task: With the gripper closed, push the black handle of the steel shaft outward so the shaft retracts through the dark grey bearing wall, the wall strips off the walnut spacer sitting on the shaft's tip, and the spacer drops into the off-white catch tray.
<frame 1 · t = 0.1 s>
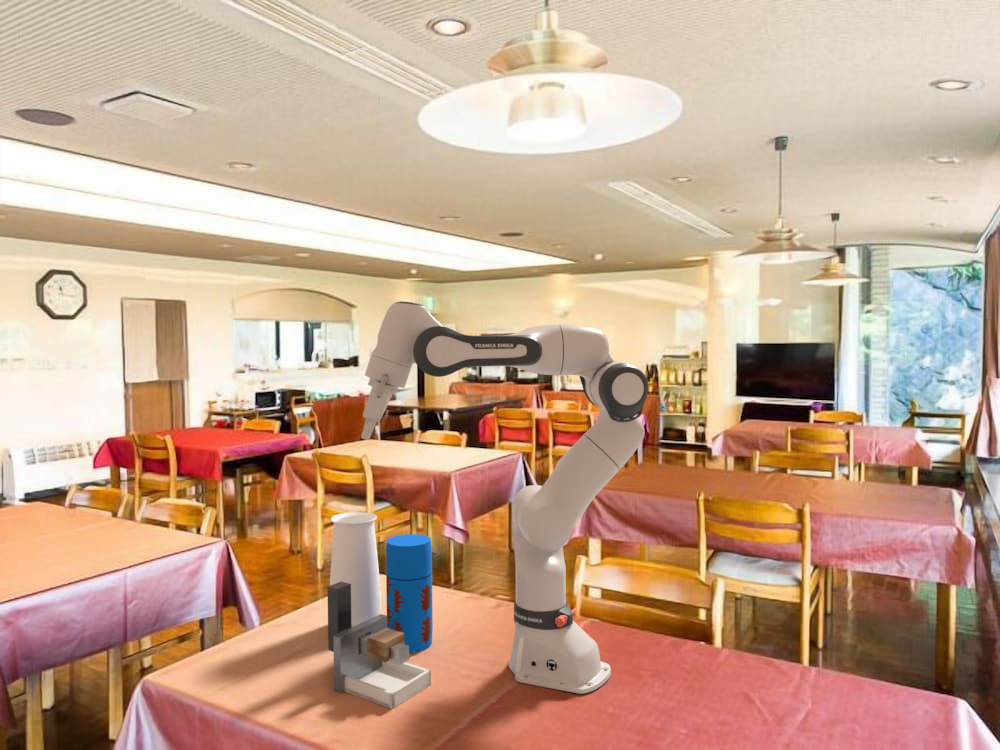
hand: (366, 435, 150), 52 cm above the table, tool tilted 20°, fingers open, 8 cm apart
vase: (355, 627, 178), on the table
spacer: (386, 654, 146), point 7 cm above the table, touching shaft
thermos: (409, 644, 168), on the table
catch tray: (388, 687, 146), on the table
shaft: (368, 625, 149), point 12 cm above the table, slide at 0.0 cm, touching spacer
bearing wall: (362, 678, 150), on the table
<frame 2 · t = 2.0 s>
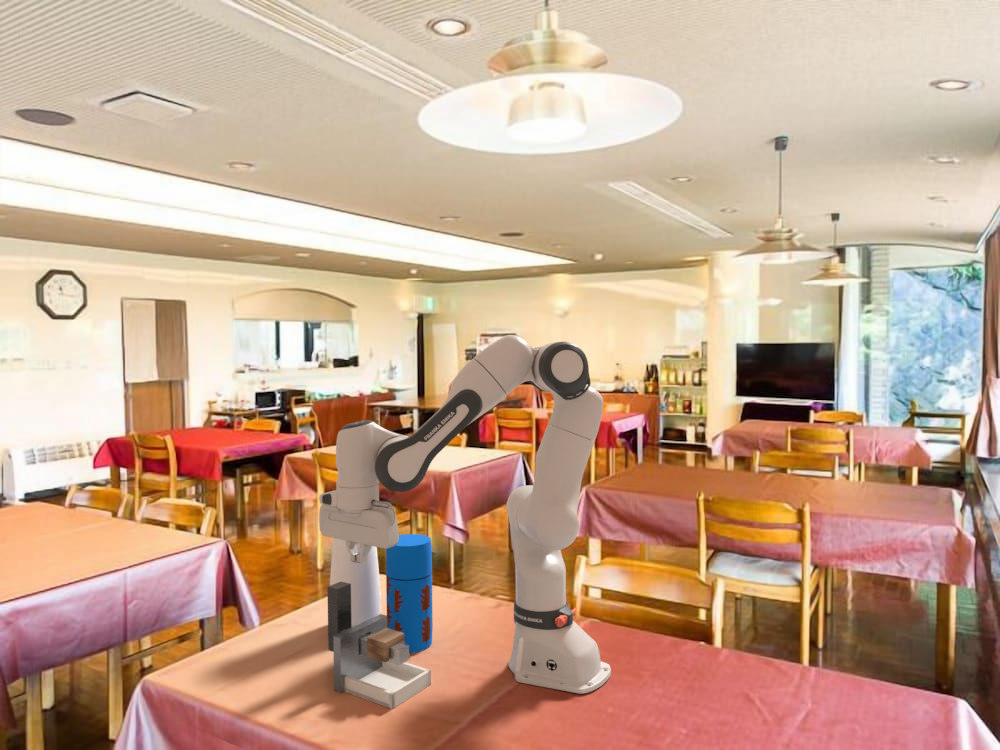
hand: (358, 562, 150), 25 cm above the table, tool pointing down, fingers closed
nothing on the table moved.
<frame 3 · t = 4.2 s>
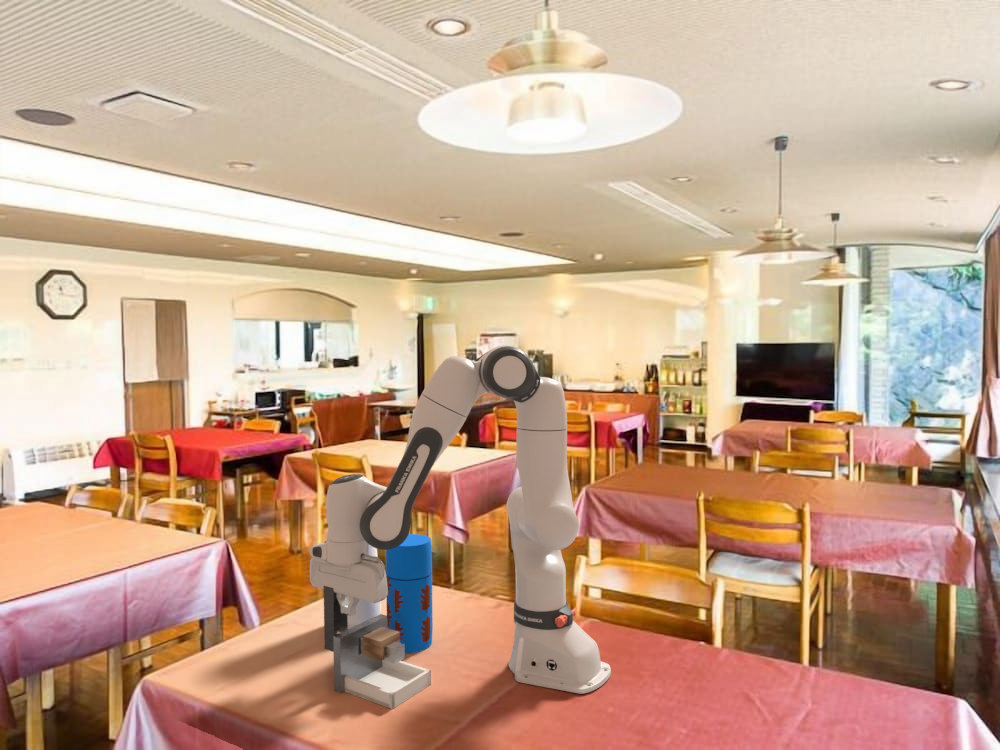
hand: (348, 614, 152), 13 cm above the table, tool pointing down, fingers closed
spacer: (381, 652, 147), point 7 cm above the table, touching shaft
shaft: (364, 624, 149), point 12 cm above the table, slide at 1.2 cm, touching gripper, spacer
everything else where it was.
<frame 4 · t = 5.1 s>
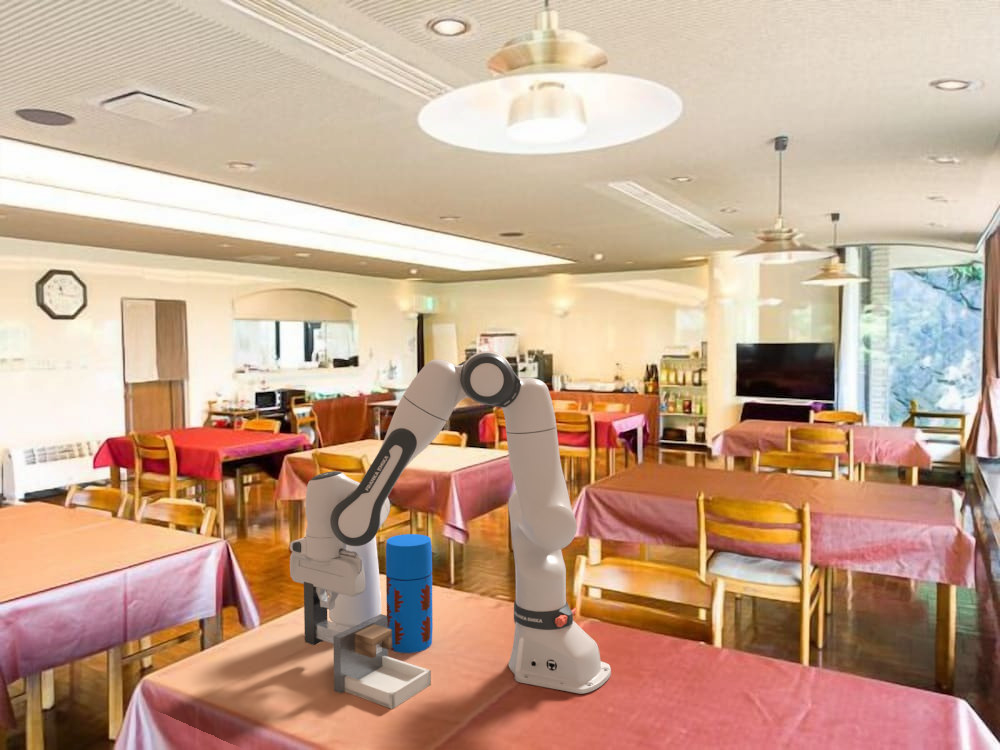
hand: (327, 607, 155), 13 cm above the table, tool pointing down, fingers closed
spacer: (373, 650, 148), point 7 cm above the table
shaft: (342, 617, 153), point 12 cm above the table, slide at 7.6 cm, touching gripper
everything else where it was.
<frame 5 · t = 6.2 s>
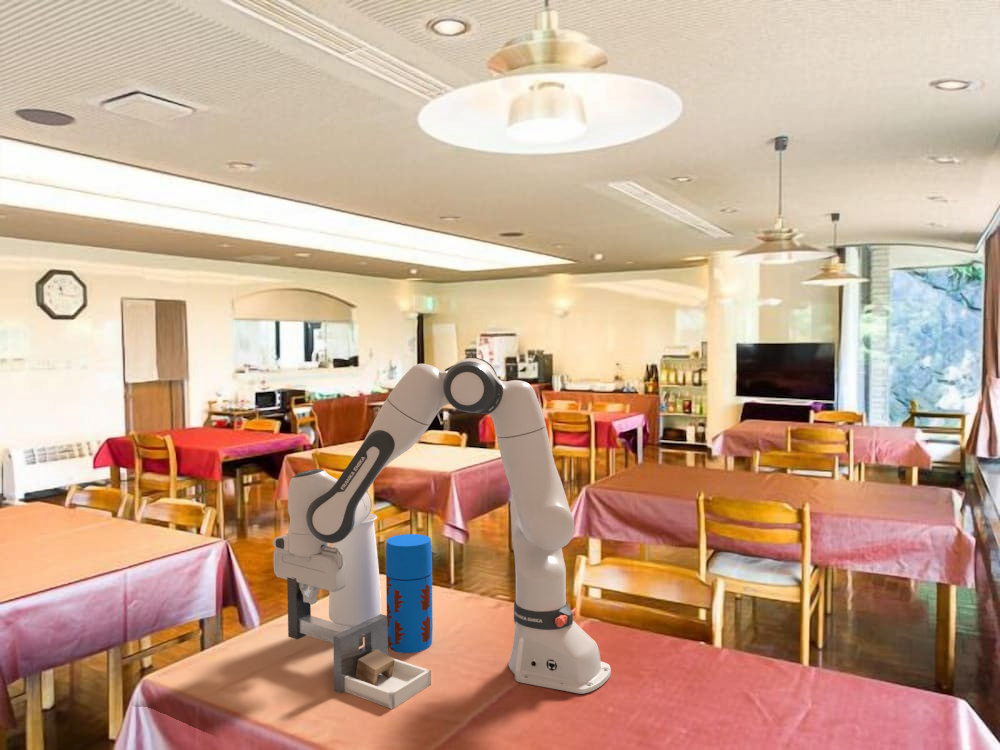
hand: (309, 602, 158), 13 cm above the table, tool pointing down, fingers closed
spacer: (373, 676, 148), point 1 cm above the table, tilted 12°, touching bearing wall, catch tray
shaft: (325, 612, 156), point 12 cm above the table, slide at 13.1 cm, touching gripper
everything else where it was.
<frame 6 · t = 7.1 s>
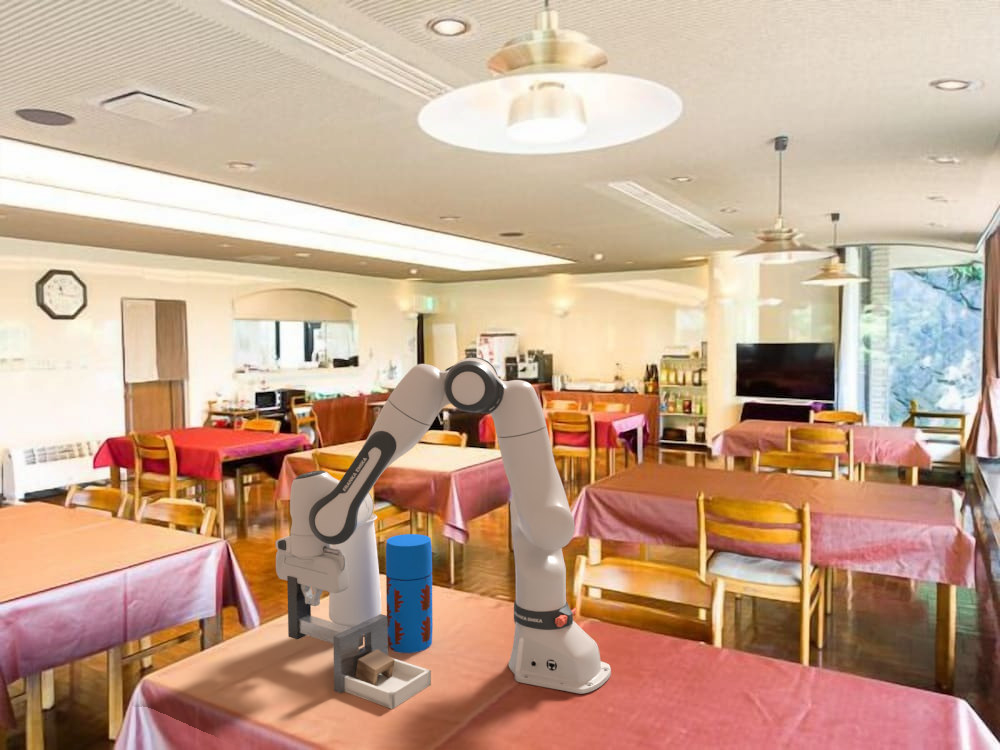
hand: (312, 604, 158), 13 cm above the table, tool pointing down, fingers closed
shaft: (325, 612, 156), point 12 cm above the table, slide at 13.0 cm
everything else where it was.
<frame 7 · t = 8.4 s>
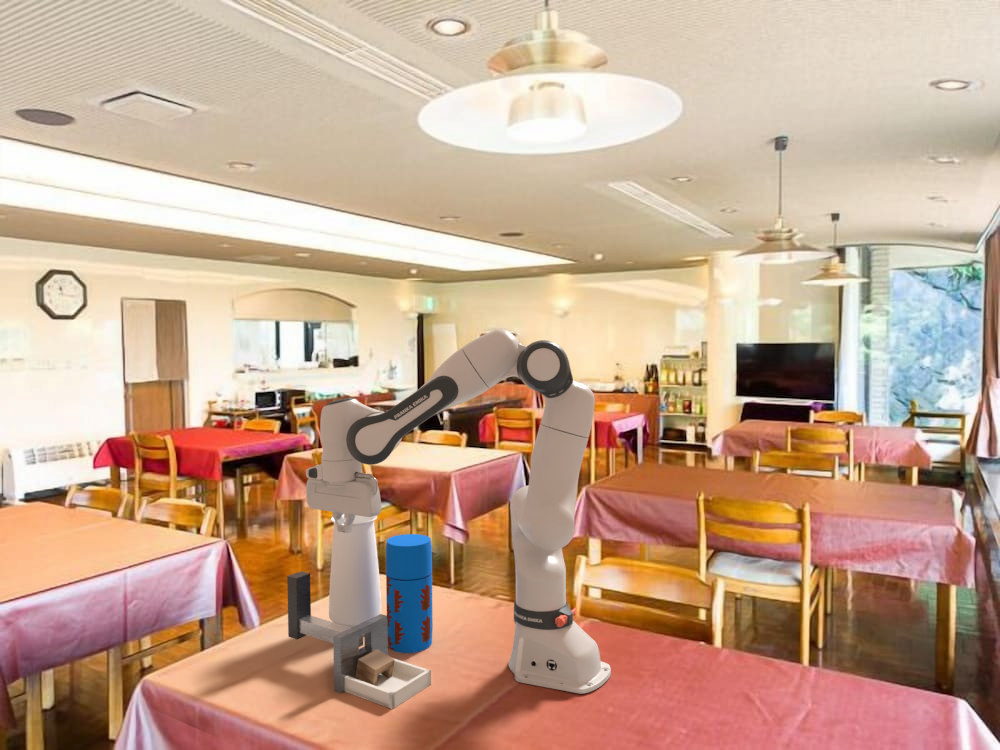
hand: (344, 531, 158), 29 cm above the table, tool pointing down, fingers closed
nothing on the table moved.
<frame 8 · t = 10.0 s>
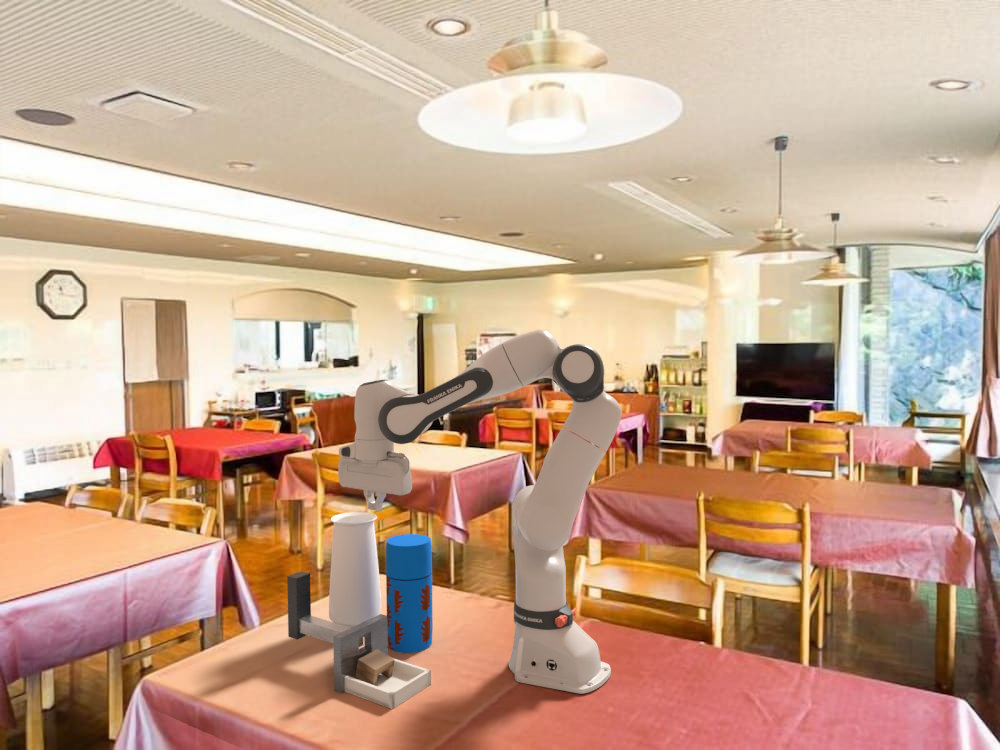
hand: (375, 509, 163), 33 cm above the table, tool pointing down, fingers closed
nothing on the table moved.
at the end: shaft slide at 13.0 cm; spacer inside the target area (3.1 cm from its centre), point 1.3 cm above the table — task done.
